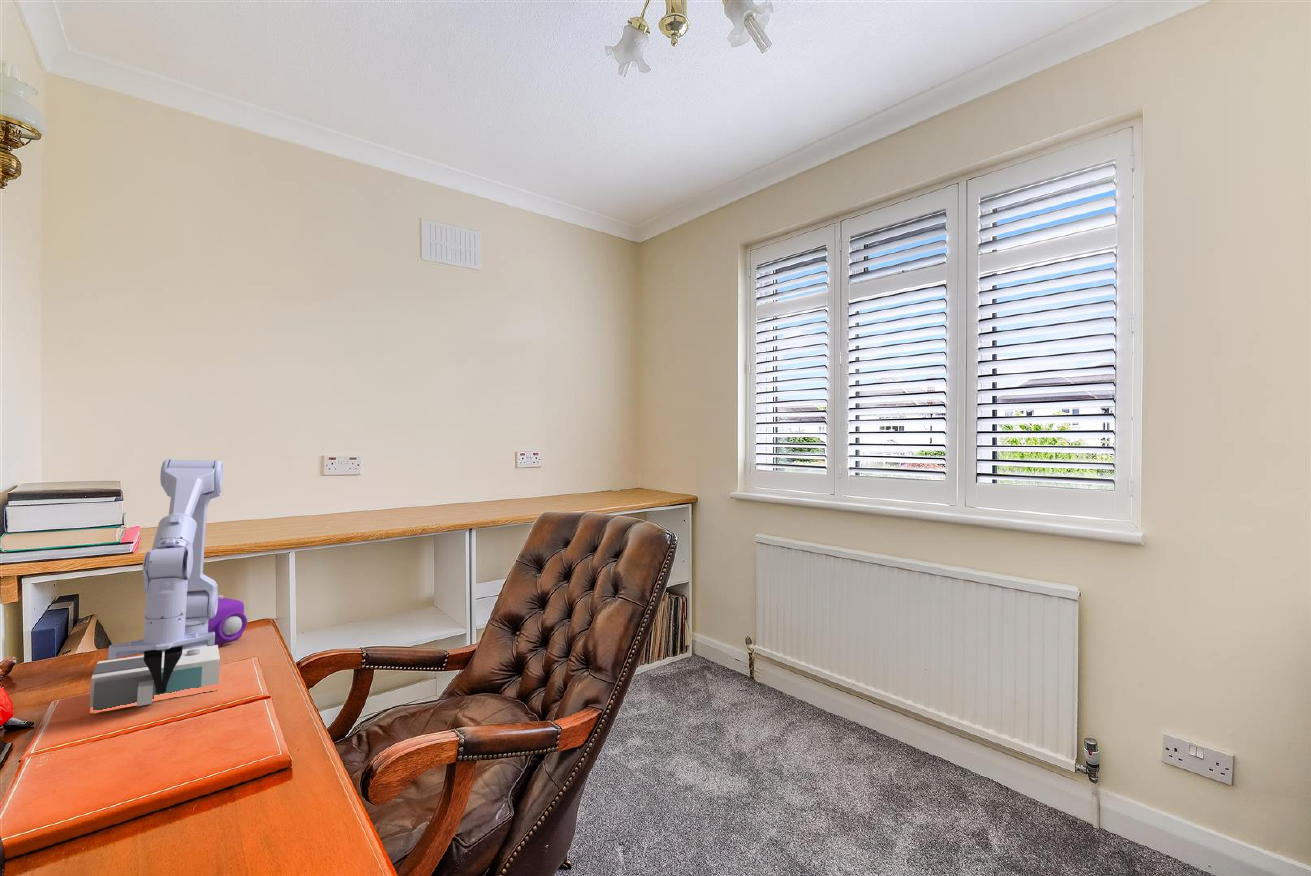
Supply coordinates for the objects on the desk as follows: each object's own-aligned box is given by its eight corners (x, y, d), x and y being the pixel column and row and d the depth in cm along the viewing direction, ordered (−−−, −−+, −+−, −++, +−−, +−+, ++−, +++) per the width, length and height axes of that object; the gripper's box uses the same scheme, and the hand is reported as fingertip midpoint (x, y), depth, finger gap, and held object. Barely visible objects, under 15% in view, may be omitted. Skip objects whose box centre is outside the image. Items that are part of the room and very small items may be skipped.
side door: (93, 711, 102) (95, 681, 102) (154, 700, 107) (155, 671, 107) (90, 720, 99) (92, 689, 99) (153, 709, 104) (154, 679, 104)
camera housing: (95, 694, 110) (98, 658, 110) (216, 674, 121) (217, 641, 121) (88, 714, 102) (91, 675, 102) (218, 690, 113) (220, 656, 113)
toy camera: (219, 652, 134) (222, 608, 134) (170, 646, 136) (173, 602, 137) (260, 638, 144) (262, 597, 145) (214, 632, 147) (216, 592, 147)
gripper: (108, 626, 98) (103, 709, 97) (216, 614, 107) (212, 689, 107) (112, 616, 103) (107, 694, 103) (215, 605, 112) (211, 677, 112)
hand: (161, 691), depth 105 cm, fingers closed
